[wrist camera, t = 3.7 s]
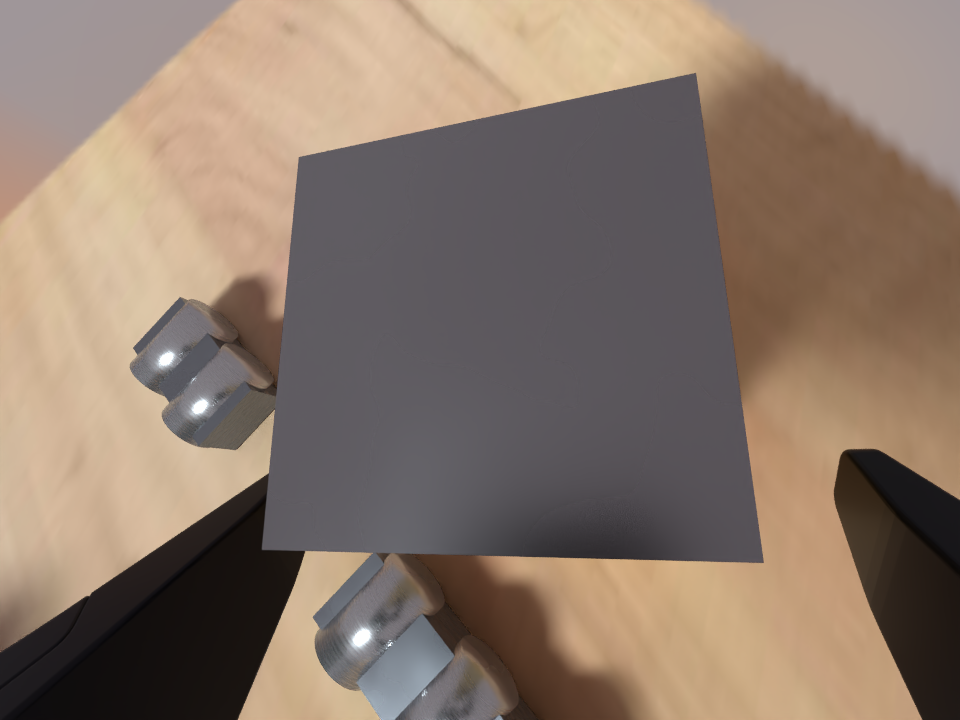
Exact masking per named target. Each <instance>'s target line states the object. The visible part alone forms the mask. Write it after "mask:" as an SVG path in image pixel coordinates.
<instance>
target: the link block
mask: <svg viewBox="0 0 960 720" xmlns="http://www.w3.org/2000/svg"><path fill="white" fill-rule="evenodd" d="M262 550H290V551H328V552H366V553H405V554H443V555H481V556H520V557H558V558H596V559H634V560H673V561H711V562H749V563H764V561H763V554H762V547H761V539H760V532H759V525H758V518H757V510H756V503H755V496H754V489H753V482H752V474H751V467H750V460H749V453H748V445H747V438H746V431H745V424H744V417H743V409H742V402H741V395H740V388H739V380H738V373H737V366H736V359H735V352H734V344H733V337H732V330H731V323H730V315H729V308H728V301H727V294H726V287H725V279H724V272H723V265H722V258H721V250H720V243H719V236H718V229H717V222H716V214H715V207H714V200H713V193H712V185H711V178H710V171H709V164H708V157H707V149H706V142H705V135H704V128H703V120H702V113H701V106H700V99H699V91H698V84H697V77H696V73H694V74H689V75H684V76H680V77H675V78H670V79H665V80H661V81H656V82H651V83H647V84H642V85H637V86H632V87H628V88H623V89H618V90H614V91H609V92H604V93H599V94H595V95H590V96H585V97H581V98H576V99H571V100H566V101H562V102H557V103H552V104H548V105H543V106H538V107H533V108H529V109H524V110H519V111H515V112H510V113H505V114H500V115H496V116H491V117H486V118H482V119H477V120H472V121H467V122H463V123H458V124H453V125H449V126H444V127H439V128H434V129H430V130H425V131H420V132H416V133H411V134H406V135H401V136H397V137H392V138H387V139H383V140H378V141H373V142H368V143H364V144H359V145H354V146H350V147H345V148H340V149H335V150H331V151H326V152H321V153H316V154H312V155H307V156H302V157H299V162H298V172H297V183H296V193H295V204H294V214H293V225H292V235H291V246H290V257H289V267H288V278H287V288H286V299H285V309H284V320H283V331H282V341H281V352H280V362H279V373H278V383H277V394H276V405H275V415H274V426H273V436H272V447H271V457H270V468H269V478H268V489H267V500H266V510H265V521H264V531H263V542H262Z"/></svg>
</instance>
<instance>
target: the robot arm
mask: <svg viewBox="0 0 960 720" xmlns="http://www.w3.org/2000/svg"><path fill="white" fill-rule="evenodd" d="M268 478H269V474H267V475H266V476H264V477H263V478H261V479H260V480H258V481H257V482H255V483H254V484H252V485H251V486H249V487H248V488H246V489H245V490H243V491H242V492H240V493H239V494H237V495H236V496H234V497H233V498H231V499H230V500H229V501H227V502H226V503H224V504H223V505H221V506H220V507H218V508H217V509H215V510H214V511H212V512H211V513H209V514H208V515H206V516H205V517H203V518H202V519H200V520H199V521H197V522H196V523H194V524H193V525H191V526H190V527H188V528H187V529H185V530H184V531H183V532H181V533H180V534H178V535H177V536H175V537H174V538H172V539H171V540H169V541H168V542H166V543H165V544H163V545H162V546H160V547H159V548H157V549H156V550H154V551H153V552H151V553H150V554H148V555H147V556H145V557H144V558H142V559H141V560H140V561H138V562H137V563H135V564H134V565H132V566H131V567H129V568H128V569H126V570H125V571H123V572H122V573H120V574H119V575H117V576H116V577H114V578H113V579H111V580H110V581H108V582H107V583H105V584H104V585H102V586H101V587H99V588H98V589H96V590H95V591H94V592H92V593H91V595H90V596H86V597H84V598H83V599H81V600H80V601H78V602H77V603H75V604H74V605H73V606H71V607H70V608H68V609H67V610H65V611H64V612H62V613H61V614H59V615H58V616H56V617H55V618H53V619H52V620H50V621H48V622H47V623H45V624H44V625H42V626H41V627H39V628H38V629H36V630H35V631H33V632H32V633H30V634H29V635H27V636H26V637H24V638H22V639H21V640H19V641H18V642H16V643H14V644H13V645H11V646H10V647H8V648H6V649H5V650H3V651H2V652H0V720H238V718H239V715H240V713H241V711H242V708H243V706H244V703H245V701H246V699H247V696H248V694H249V691H250V689H251V687H252V684H253V682H254V680H255V677H256V675H257V672H258V670H259V668H260V665H261V663H262V661H263V658H264V656H265V653H266V651H267V649H268V646H269V644H270V642H271V639H272V637H273V634H274V632H275V630H276V627H277V625H278V623H279V620H280V618H281V615H282V613H283V611H284V608H285V606H286V604H287V601H288V599H289V596H290V594H291V591H292V589H293V586H294V584H295V581H296V578H297V575H298V572H299V570H300V566H301V563H302V560H303V557H304V554H305V551H290V550H262V542H263V531H264V521H265V510H266V500H267V489H268ZM834 500H835V505H836V509H837V512H838V515H839V518H840V521H841V523H842V526H843V529H844V532H845V535H846V538H847V541H848V544H849V547H850V550H851V553H852V556H853V559H854V562H855V565H856V568H857V571H858V574H859V577H860V580H861V583H862V586H863V589H864V592H865V595H866V598H867V600H868V603H869V606H870V608H871V611H872V613H873V615H874V617H875V620H876V622H877V624H878V626H879V629H880V631H881V633H882V635H883V637H884V639H885V641H886V644H887V646H888V648H889V650H890V652H891V654H892V656H893V658H894V661H895V663H896V665H897V667H898V669H899V671H900V673H901V675H902V678H903V680H904V682H905V684H906V686H907V688H908V690H909V693H910V695H911V697H912V699H913V701H914V703H915V705H916V707H917V710H918V712H919V714H920V716H921V718H922V720H960V500H959V499H957V498H956V497H954V496H952V495H951V494H949V493H948V492H946V491H944V490H943V489H941V488H940V487H938V486H936V485H935V484H933V483H932V482H930V481H928V480H927V479H925V478H923V477H922V476H920V475H919V474H917V473H915V472H914V471H912V470H911V469H909V468H907V467H906V466H904V465H903V464H901V463H899V462H898V461H896V460H895V459H893V458H891V457H890V456H888V455H887V454H885V453H883V452H881V451H879V450H877V449H848V450H845V451H844V452H843V453H842V454H841V456H840V460H839V466H838V471H837V477H836V482H835V487H834Z"/></svg>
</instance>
